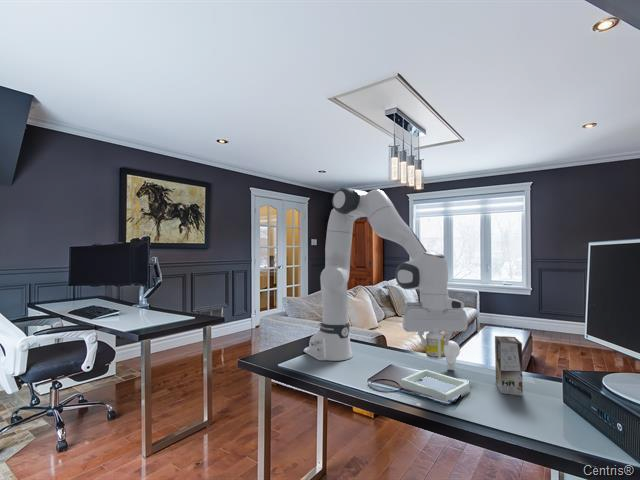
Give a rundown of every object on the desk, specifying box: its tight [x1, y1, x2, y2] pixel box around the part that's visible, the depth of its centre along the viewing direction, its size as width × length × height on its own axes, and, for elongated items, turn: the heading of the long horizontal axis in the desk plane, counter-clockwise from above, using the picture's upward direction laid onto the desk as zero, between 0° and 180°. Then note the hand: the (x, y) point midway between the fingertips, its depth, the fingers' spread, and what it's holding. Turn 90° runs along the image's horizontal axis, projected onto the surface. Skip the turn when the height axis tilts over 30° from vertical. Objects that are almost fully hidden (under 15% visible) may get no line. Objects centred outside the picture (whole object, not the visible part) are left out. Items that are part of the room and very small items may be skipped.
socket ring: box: [367, 382, 396, 393], centre depth 114 cm, size 11×11×1 cm
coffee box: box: [494, 335, 524, 396], centre depth 111 cm, size 9×6×16 cm
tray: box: [400, 368, 471, 402], centre depth 110 cm, size 16×14×3 cm
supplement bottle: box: [425, 328, 445, 361], centre depth 110 cm, size 5×5×10 cm
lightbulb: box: [444, 340, 461, 372], centre depth 128 cm, size 6×6×11 cm
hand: (434, 345), depth 110 cm, fingers closed on supplement bottle, 5 cm apart
